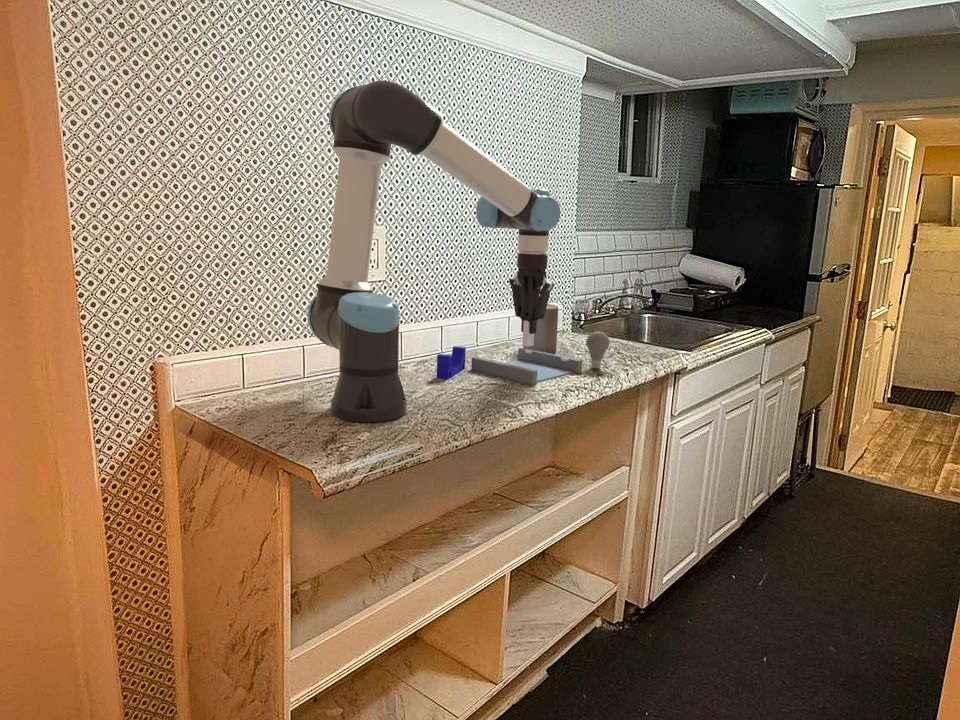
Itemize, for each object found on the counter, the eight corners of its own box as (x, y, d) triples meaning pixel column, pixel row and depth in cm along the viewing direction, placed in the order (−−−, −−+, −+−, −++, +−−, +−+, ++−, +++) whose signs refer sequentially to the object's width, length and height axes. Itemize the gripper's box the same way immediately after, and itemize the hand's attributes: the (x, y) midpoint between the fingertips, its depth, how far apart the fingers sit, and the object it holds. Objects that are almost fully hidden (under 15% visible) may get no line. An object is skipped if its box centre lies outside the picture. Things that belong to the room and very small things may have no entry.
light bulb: (589, 371, 179) (591, 333, 177) (581, 365, 185) (583, 329, 182) (610, 370, 180) (613, 333, 178) (602, 365, 186) (605, 329, 184)
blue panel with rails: (532, 384, 163) (532, 371, 162) (471, 369, 176) (471, 357, 175) (581, 372, 177) (582, 360, 177) (522, 358, 191) (522, 347, 190)
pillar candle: (551, 348, 206) (554, 299, 203) (559, 355, 197) (562, 303, 194) (519, 348, 205) (522, 298, 202) (526, 355, 196) (529, 303, 192)
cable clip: (448, 368, 178) (449, 345, 176) (464, 370, 176) (465, 347, 175) (430, 378, 166) (431, 354, 165) (448, 380, 165) (448, 356, 164)
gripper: (562, 254, 168) (557, 347, 174) (521, 250, 177) (517, 340, 182) (544, 254, 163) (539, 351, 168) (503, 251, 172) (499, 343, 177)
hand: (528, 345), depth 175 cm, fingers closed
